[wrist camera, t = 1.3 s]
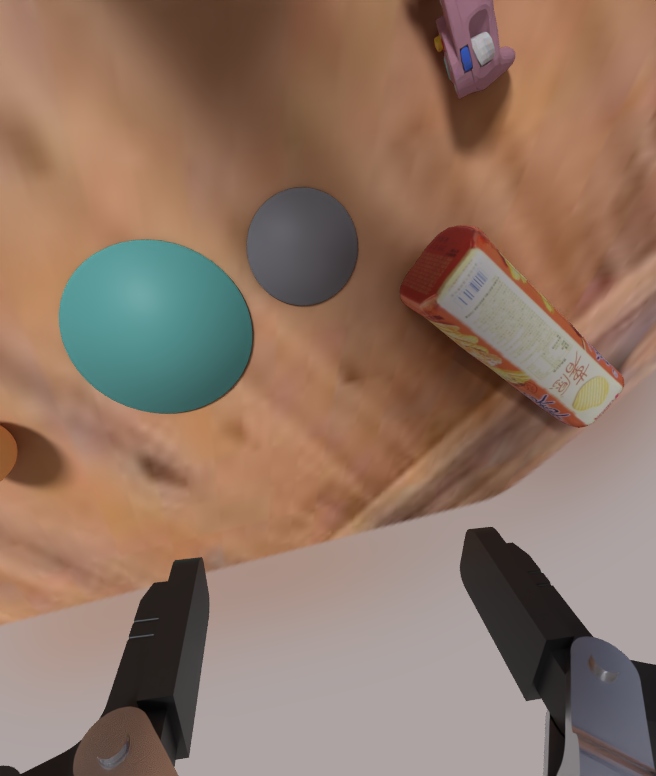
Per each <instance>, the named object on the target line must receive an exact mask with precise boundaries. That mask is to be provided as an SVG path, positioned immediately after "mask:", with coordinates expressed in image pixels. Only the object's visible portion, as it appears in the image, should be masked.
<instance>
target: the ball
mask: <svg viewBox="0 0 656 776" xmlns="http://www.w3.org/2000/svg"><path fill="white" fill-rule="evenodd" d="M17 453H18V451H17V445H16V442H15V439H14V438H13V436H12V435H11V434H10V432H9V431H7V430H6V429H5V428H4V427H2V426H0V481H1V480H3V479H4V478H5V477H6V476H7V475H8V474H9V473H10V471H11V470H12V468H13V467H14V465H15V462H16V459H17Z"/></svg>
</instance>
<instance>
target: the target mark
mask: <svg viewBox="0 0 656 776" xmlns="http://www.w3.org/2000/svg"><path fill="white" fill-rule="evenodd" d="M59 327H60V332H61V337H62V341H63V343H64V346H65V349H66V351H67V353H68V355H69V357H70V359H71V361H72V363H73V364H74V365H75V367H76V368H77V370H78V371H79V372H80V373H81V375H82V376H83V377H84V378H85V379H86V380H87V381H88V382H89V383H90V384H91V385H92V386H93V387H94V388H96V389H97V390H98V391H100V392H101V393H103V394H104V395H105V396H107V397H109V398H111V399H112V400H114V401H116V402H118V403H121V404H123V405H125V406H128V407H131V408H134V409H137V410H141V411H146V412H153V413H179V412H186V411H190V410H194V409H197V408H200V407H203V406H205V405H207V404H209V403H211V402H213V401H215V400H216V399H218V398H219V397H221V396H222V395H224V394H225V393H226V392H227V391H228V390H229V389H231V387H232V386H233V385H234V384H235V383H236V382H237V381H238V379H239V378H240V376H241V375H242V373H243V371H244V369H245V367H246V365H247V363H248V359H249V356H250V353H251V347H252V325H251V319H250V315H249V311H248V308H247V306H246V303H245V301H244V299H243V297H242V295H241V293H240V291H239V290H238V288H237V287H236V285H235V284H234V283H233V281H232V280H231V279H230V278H229V277H228V275H227V274H226V273H225V272H224V271H223V270H222V269H221V268H219V267H218V266H217V265H216V264H214V263H213V262H212V261H211V260H209V259H207V258H206V257H204V256H203V255H201V254H199V253H197V252H195V251H193V250H191V249H189V248H187V247H184V246H181V245H178V244H175V243H170V242H165V241H159V240H133V241H127V242H122V243H118V244H115V245H112V246H109V247H107V248H105V249H103V250H101V251H99V252H97V253H95V254H94V255H92V256H91V257H90V258H88V259H87V260H85V261H84V262H83V263H82V264H81V265H80V266H79V267H78V268H77V269H76V271H75V272H74V274H73V275H72V276H71V278H70V279H69V281H68V283H67V285H66V287H65V289H64V292H63V295H62V298H61V302H60V309H59Z"/></svg>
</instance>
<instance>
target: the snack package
mask: <svg viewBox="0 0 656 776" xmlns="http://www.w3.org/2000/svg"><path fill="white" fill-rule="evenodd" d="M400 297H401V300H402V301H403V303H404V304H405V305H407V306H408V307H410V308H411V309H412V310H414V311H416V312H417V313H419V314H420V315H422V316H423V317H425V318H426V319H427V320H429V321H430V322H431V323H432V324H433V325H435V326H436V327H437V328H438V329H440V330H441V331H442V332H443V333H445V334H446V335H447V336H448V337H449V338H451V339H452V340H453V341H454V342H455V343H457V344H458V345H459V346H460V347H462V348H463V349H464V350H465V351H467V352H468V353H469V354H470V355H472V356H473V357H474V358H476V359H477V360H479V361H480V362H482V363H483V364H485V365H486V366H488V367H489V368H490V369H492V370H493V371H494V372H495V373H497V374H498V375H499V376H501V377H502V378H503V379H505V380H506V381H507V382H508V383H509V384H511V385H512V386H513V387H515V388H516V389H517V390H518V391H520V392H521V393H522V394H524V395H525V396H527V397H528V398H529V399H531V400H532V401H533V402H534V403H536V404H537V405H538V406H539V407H541V408H542V409H543V410H545V411H546V412H548V413H549V414H550V415H552V416H553V417H555V418H557V419H558V420H560V421H562V422H563V423H565V424H568V425H571V426H574V427H578V428H580V427H585V426H588V425H590V424H592V423H593V422H595V421H596V420H597V419H598V418H599V417H600V416H601V415H602V414H603V413H604V412H605V411H606V410H607V409H608V408H609V407H610V405H611V404H612V403H613V402H614V401H615V400H616V398H617V397H618V395H619V394H620V393H621V391H622V389H623V387H624V379H623V377H622V375H621V374H620V373H619V372H618V371H617V370H616V369H615V368H614V367H613V366H612V365H611V364H610V363H609V362H607V361H606V360H605V359H604V358H603V357H602V356H601V355H600V354H599V353H598V352H597V351H596V350H595V349H594V348H593V347H592V346H591V345H590V344H589V343H588V342H587V341H586V340H585V339H584V338H583V337H582V336H581V335H580V334H579V332H578V331H577V330H576V329H575V328H574V327H573V326H572V325H571V324H570V323H569V322H568V321H567V320H566V319H565V318H564V317H563V316H562V315H561V314H560V313H559V312H558V311H557V310H556V309H555V308H554V307H553V306H552V305H551V304H550V303H549V302H548V301H547V300H546V299H545V298H544V297H543V296H542V295H541V294H540V293H539V292H538V291H537V290H536V289H535V288H534V287H533V286H532V285H531V284H530V283H529V282H528V281H527V280H526V279H525V278H524V277H523V276H522V275H521V274H520V273H519V272H518V271H517V270H516V269H515V268H514V267H513V266H512V265H511V264H510V262H509V261H508V260H507V259H506V258H505V257H504V256H503V255H502V254H501V253H500V252H499V251H498V250H497V249H496V248H495V246H494V245H493V244H492V243H491V242H490V240H489V239H488V238H487V236H486V235H485V234H484V233H483V232H482V231H481V230H480V229H479V228H477V227H473V226H467V225H461V226H454V227H450V228H447V229H446V230H444V231H443V232H441V233H440V234H438V235H437V236H436V237H435V239H434V240H433V241H432V242H431V243H430V244H429V245H428V246H427V248H426V249H425V250H424V251H423V253H422V254H421V256H420V257H419V259H418V260H417V261H416V263H415V264H414V266H413V267H412V268H411V269H410V271H409V272H408V274H407V275H406V277H405V279H404V281H403V283H402V285H401V288H400Z"/></svg>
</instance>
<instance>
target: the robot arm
mask: <svg viewBox="0 0 656 776" xmlns="http://www.w3.org/2000/svg"><path fill="white" fill-rule="evenodd" d="M460 572H461V578H462V581H463V584H464V586H465V588H466V590H467V592H468V594H469V596H470V598H471V599H472V601H473V603H474V605H475V607H476V609H477V611H478V613H479V614H480V616H481V618H482V620H483V622H484V624H485V626H486V627H487V629H488V631H489V633H490V635H491V637H492V639H493V640H494V642H495V644H496V646H497V648H498V650H499V652H500V653H501V655H502V657H503V659H504V661H505V662H506V664H507V666H508V668H509V670H510V672H511V674H512V676H513V678H514V679H515V681H516V683H517V685H518V687H519V688H520V691H521V692H522V694H523V696H524V698H525V700H526V701H529V700H535V699H541V698H542V700H543V702H544V703H545V705H546V707H547V709H548V710H547V713H546V724H545V747H544V748H545V749H544V772H543V776H656V665H653V664H648V663H643V662H637V661H633V660H629V658H628V657H627V656H626V655H625V654H623V653H622V652H621V651H620V650H618V649H617V648H616V647H615V646H613V645H611V644H610V643H608V642H606V641H604V640H601V639H598V638H595V637H593V636H592V635H591V634H590V633H589V631H588V630H587V629H586V628H585V626H584V625H583V624H582V622H581V621H580V620H579V619H578V617H577V616H576V615H575V613H574V612H573V611H572V610H571V608H570V607H569V606H568V605H567V603H566V602H565V601H564V600H563V598H562V597H561V595H560V594H559V593H558V592H557V591H556V589H555V588H554V586H551V584H550V581H549V580H548V579H547V578H546V576H545V575H544V574H543V573H541V570H540V568H539V567H538V566H537V565H536V563H535V562H534V561H533V560H532V558H531V557H530V556H529V555H528V554H527V553H526V552H524V551H523V550H522V549H520V548H519V547H518V546H516V545H515V544H514V543H506V542H505V541H504V540H503V538H502V537H501V536H500V534H499V533H498V532H497V531H496V529H494V528H493V527H485V528H477V529H469V530H467V532H466V536H465V541H464V546H463V552H462V557H461V563H460ZM208 619H209V593H208V586H207V580H206V574H205V568H204V562H203V559H202V557H201V558H191V559H182V560H175V561H174V562H173V565H172V569H171V572H170V576H169V580H168V581H166V582H157V583H153V585H152V586H151V587H150V589H149V590H148V591H147V593H146V594H145V595H144V597H143V598H142V599H141V601H140V604H139V607H138V610H137V613H136V616H135V619H134V624H133V625H132V628H131V631H130V634H129V640H128V641H127V644H126V647H125V650H124V653H123V656H122V659H121V662H120V665H119V668H118V671H117V675H116V678H115V680H114V684H113V687H112V690H111V693H110V696H109V699H108V702H107V705H106V707H105V710H104V712H103V714H102V715H101V717H100V719H99V720H98V721H97V722H96V723H95V724H94V725H93V726H92V727H91V728H90V729H89V730H88V732H87V733H86V734H85V736H84V737H83V739H82V740H81V741H80V742H78V743H77V744H76V745H75V746H73V747H72V748H70V749H69V750H67V751H66V752H64V753H62V754H60V755H58V756H56V757H54V758H52V759H50V760H48V761H46V762H44V763H42V764H40V765H38V766H36V767H34V768H32V769H30V770H28V771H26V772H24V773H22V774H20V773H19V772H18V771H17V770H16V769H15V768H13V767H10V766H0V776H178V774H177V772H176V770H175V768H174V766H175V760H176V759H183V758H188V757H189V753H190V745H191V739H192V732H193V725H194V717H195V711H196V704H197V697H198V689H199V682H200V675H201V667H202V660H203V654H204V646H205V640H206V633H207V626H208Z"/></svg>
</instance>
